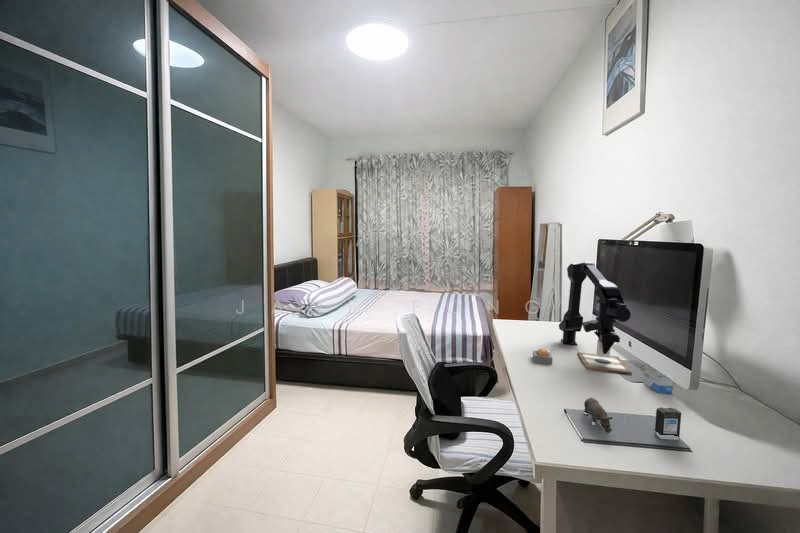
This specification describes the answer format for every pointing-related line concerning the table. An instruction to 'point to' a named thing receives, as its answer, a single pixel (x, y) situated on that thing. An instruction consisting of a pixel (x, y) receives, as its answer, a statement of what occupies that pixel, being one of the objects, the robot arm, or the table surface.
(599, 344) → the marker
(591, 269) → the robot arm
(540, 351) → the button
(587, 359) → the wooden picture frame
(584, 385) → the table surface
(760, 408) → the table surface
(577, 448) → the table surface
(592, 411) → the grey animal figure
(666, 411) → the ink cartridge
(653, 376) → the ink box
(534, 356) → the button housing
